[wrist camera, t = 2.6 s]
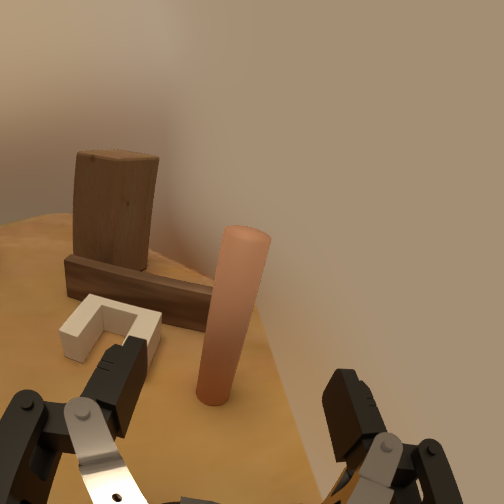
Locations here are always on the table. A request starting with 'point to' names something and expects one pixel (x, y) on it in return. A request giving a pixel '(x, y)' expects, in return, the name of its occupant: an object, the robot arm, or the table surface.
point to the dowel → (230, 310)
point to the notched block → (108, 326)
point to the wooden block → (113, 206)
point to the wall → (140, 291)
